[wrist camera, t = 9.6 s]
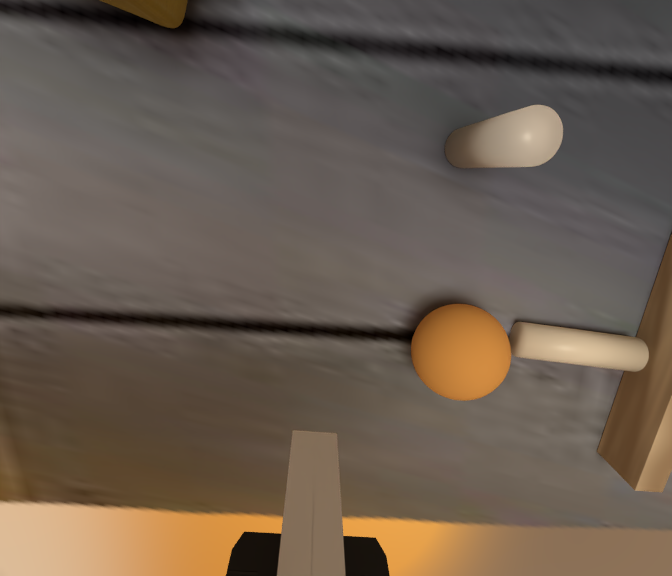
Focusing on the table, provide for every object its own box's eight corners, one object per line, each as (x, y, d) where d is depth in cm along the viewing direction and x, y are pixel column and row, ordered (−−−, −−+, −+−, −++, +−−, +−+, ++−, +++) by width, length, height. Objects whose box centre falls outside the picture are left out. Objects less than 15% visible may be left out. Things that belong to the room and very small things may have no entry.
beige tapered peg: (441, 166, 25) (499, 163, 17) (448, 124, 24) (512, 101, 16) (478, 170, 25) (554, 169, 17) (486, 129, 25) (569, 108, 16)
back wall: (596, 451, 32) (635, 490, 28) (675, 222, 27) (734, 231, 23) (621, 453, 32) (662, 492, 28) (703, 225, 27) (767, 234, 23)
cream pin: (523, 361, 26) (644, 376, 27) (530, 325, 26) (652, 342, 27) (506, 351, 29) (617, 365, 29) (512, 318, 28) (624, 333, 29)
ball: (515, 403, 26) (439, 363, 30) (540, 317, 24) (456, 287, 29) (462, 433, 22) (384, 382, 26) (488, 333, 20) (400, 296, 25)
